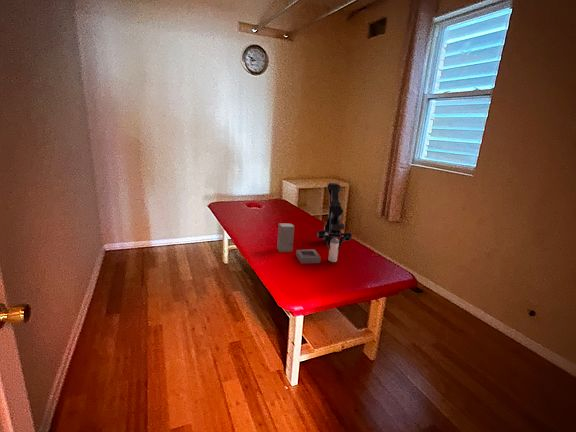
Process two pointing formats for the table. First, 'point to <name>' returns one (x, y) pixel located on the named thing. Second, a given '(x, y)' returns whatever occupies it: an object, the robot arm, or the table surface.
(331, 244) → the grey round-top peg
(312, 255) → the jig
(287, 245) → the skincare box
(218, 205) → the table surface
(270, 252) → the table surface
